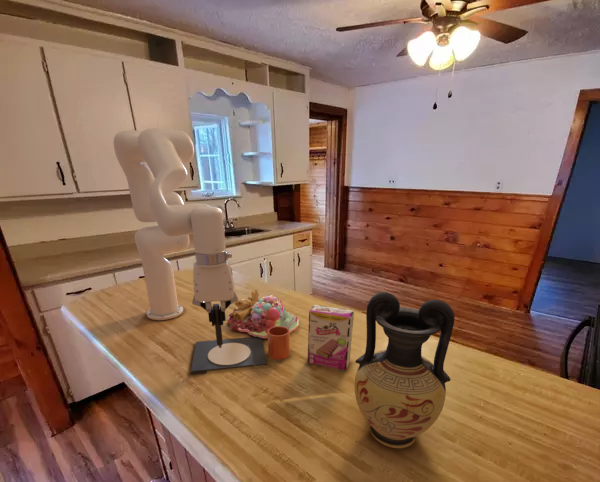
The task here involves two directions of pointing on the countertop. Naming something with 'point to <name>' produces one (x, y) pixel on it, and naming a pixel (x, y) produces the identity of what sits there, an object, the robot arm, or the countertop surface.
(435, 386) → the amphora
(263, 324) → the candy landscape model
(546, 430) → the countertop surface
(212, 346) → the board
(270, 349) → the pen pot
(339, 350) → the candy bar box
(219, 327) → the marker pen
